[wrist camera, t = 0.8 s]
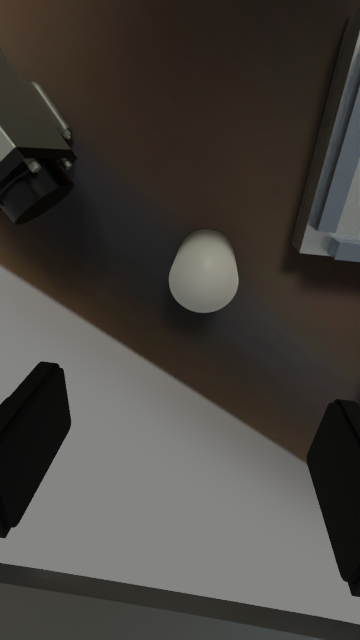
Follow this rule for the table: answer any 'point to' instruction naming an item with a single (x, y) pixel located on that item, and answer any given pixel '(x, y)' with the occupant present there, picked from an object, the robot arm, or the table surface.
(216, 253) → the white rounded cylinder
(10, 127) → the pneumatic valve
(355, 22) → the grey fixture tray
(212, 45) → the table surface
